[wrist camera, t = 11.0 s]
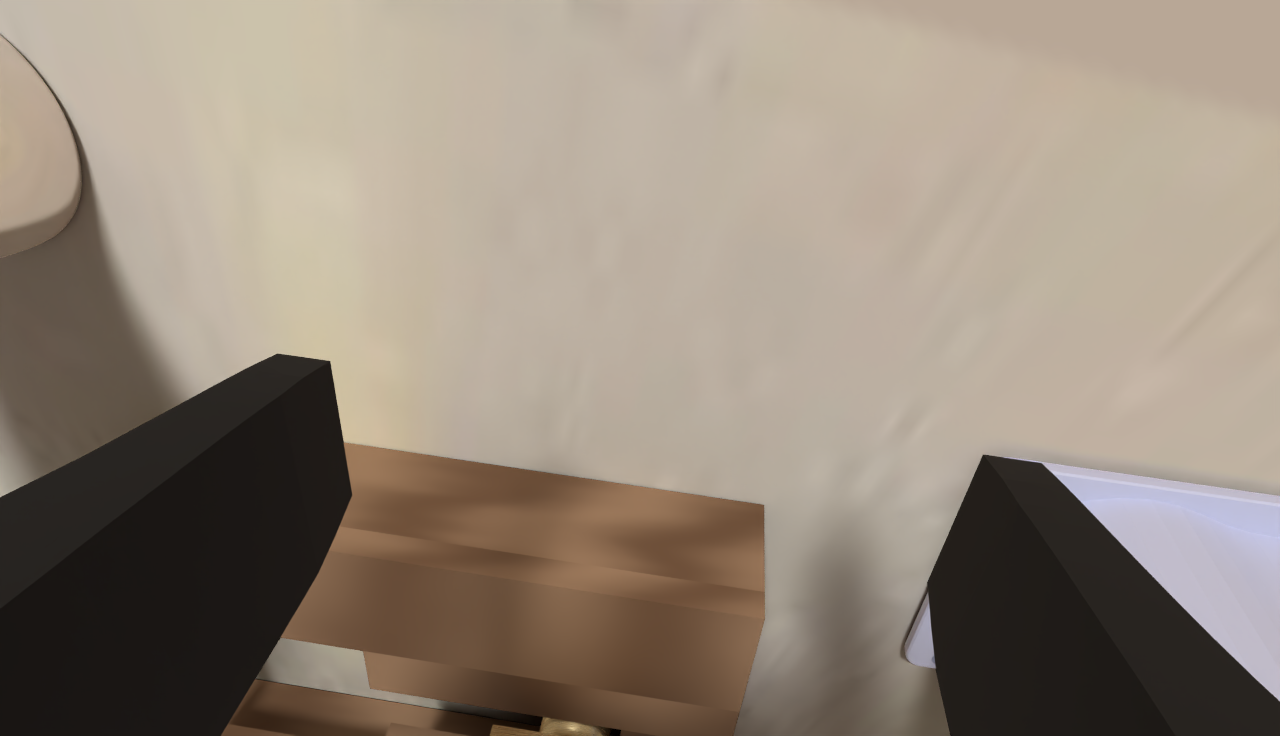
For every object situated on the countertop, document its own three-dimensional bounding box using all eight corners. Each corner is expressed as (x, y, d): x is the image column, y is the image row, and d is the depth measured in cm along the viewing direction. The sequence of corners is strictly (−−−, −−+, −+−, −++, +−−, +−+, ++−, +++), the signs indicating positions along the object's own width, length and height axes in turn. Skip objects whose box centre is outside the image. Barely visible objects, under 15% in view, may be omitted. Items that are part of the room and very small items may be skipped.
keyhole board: (763, 504, 22) (764, 619, 19) (698, 775, 30) (692, 886, 27) (166, 416, 23) (71, 511, 20) (259, 702, 31) (202, 801, 27)
